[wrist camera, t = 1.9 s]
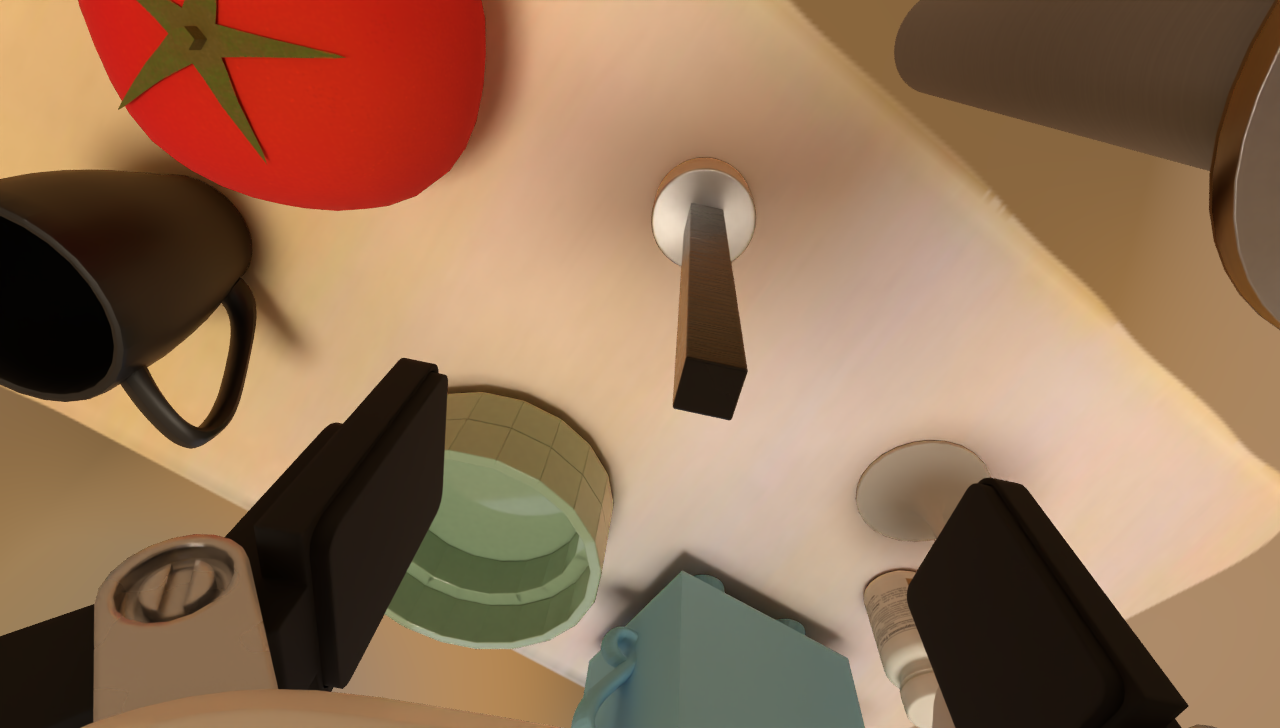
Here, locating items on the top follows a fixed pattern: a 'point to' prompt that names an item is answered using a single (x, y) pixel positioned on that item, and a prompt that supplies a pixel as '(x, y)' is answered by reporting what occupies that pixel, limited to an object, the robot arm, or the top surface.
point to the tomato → (300, 91)
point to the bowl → (508, 530)
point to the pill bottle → (901, 645)
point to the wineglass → (918, 501)
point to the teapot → (714, 668)
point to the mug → (119, 287)
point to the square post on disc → (706, 279)
